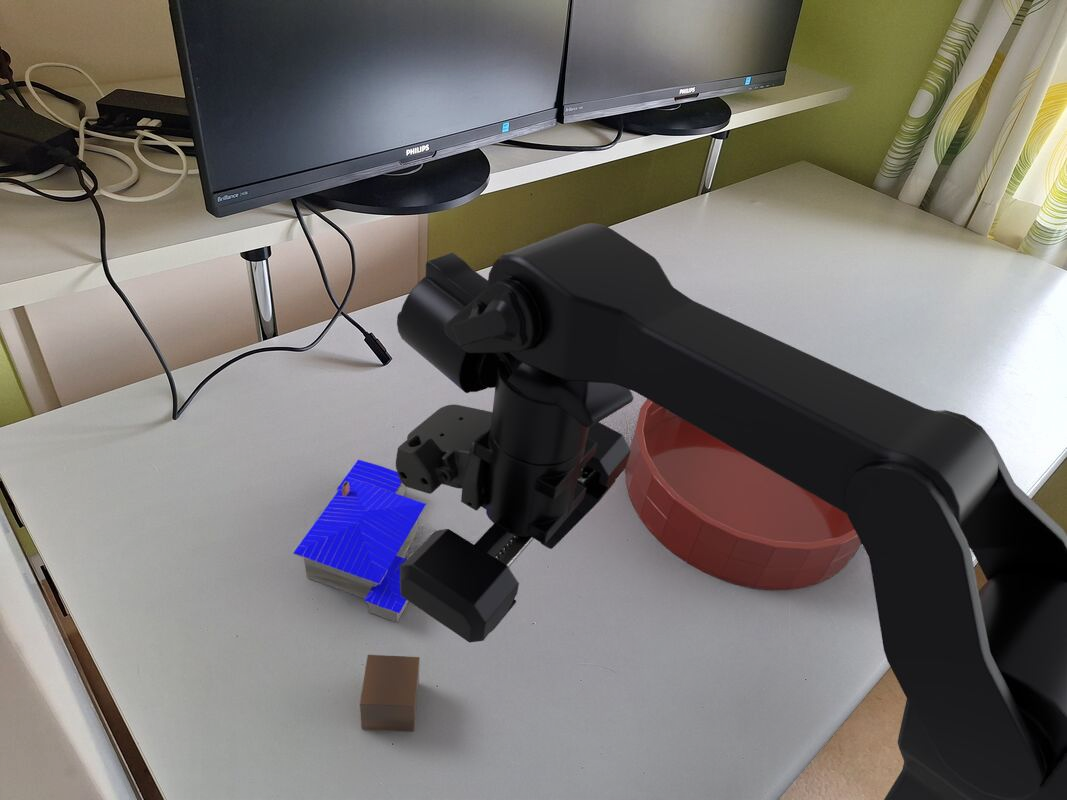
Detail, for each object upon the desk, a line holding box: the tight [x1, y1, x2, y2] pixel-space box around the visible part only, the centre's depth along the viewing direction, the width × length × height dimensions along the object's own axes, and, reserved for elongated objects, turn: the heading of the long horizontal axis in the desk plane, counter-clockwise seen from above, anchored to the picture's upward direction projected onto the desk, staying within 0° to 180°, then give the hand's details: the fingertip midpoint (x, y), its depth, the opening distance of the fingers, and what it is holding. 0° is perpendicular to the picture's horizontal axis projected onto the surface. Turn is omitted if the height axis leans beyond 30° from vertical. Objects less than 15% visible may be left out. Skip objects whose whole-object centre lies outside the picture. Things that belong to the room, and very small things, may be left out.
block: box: [359, 654, 421, 732], centre depth 59 cm, size 4×4×4 cm
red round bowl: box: [624, 398, 863, 591], centre depth 80 cm, size 25×25×6 cm
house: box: [293, 459, 427, 623], centre depth 69 cm, size 11×14×6 cm
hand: (512, 585), depth 55 cm, fingers open, 9 cm apart
